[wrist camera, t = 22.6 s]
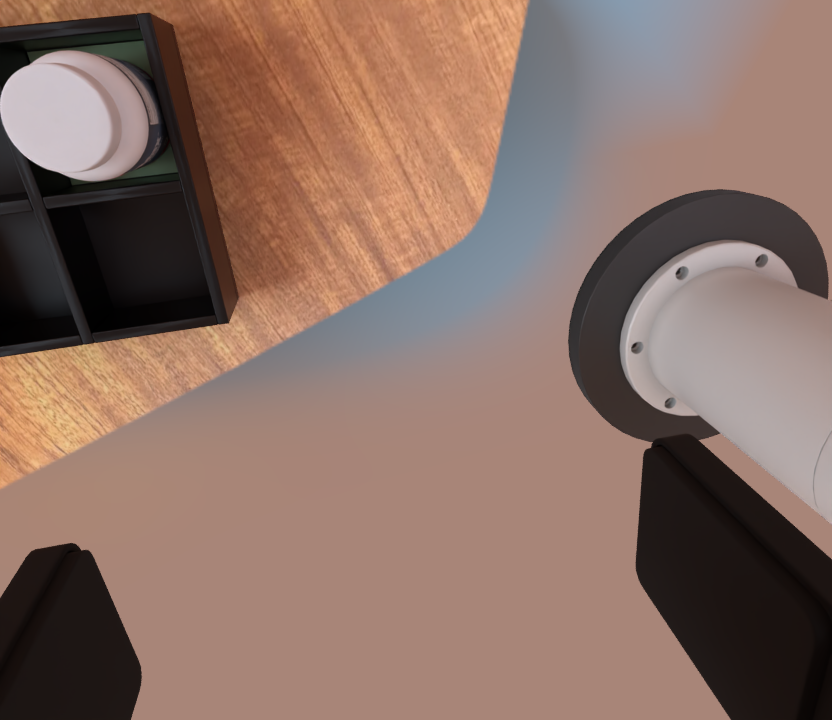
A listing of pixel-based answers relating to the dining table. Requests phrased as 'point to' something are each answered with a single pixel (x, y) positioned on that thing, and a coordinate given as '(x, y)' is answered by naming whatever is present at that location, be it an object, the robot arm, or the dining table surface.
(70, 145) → the pill bottle
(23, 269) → the black compartment tray
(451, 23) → the dining table surface
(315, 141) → the dining table surface
